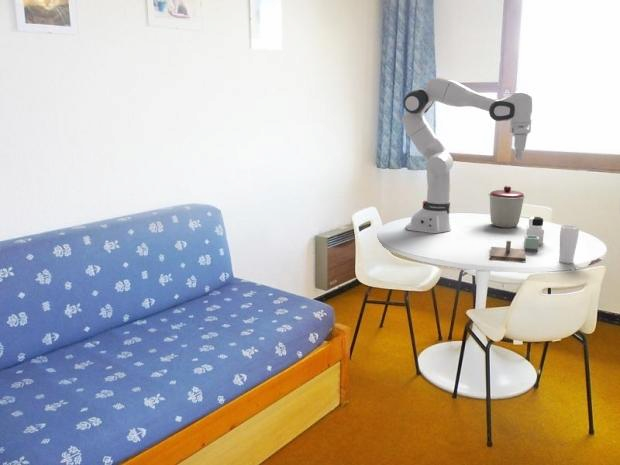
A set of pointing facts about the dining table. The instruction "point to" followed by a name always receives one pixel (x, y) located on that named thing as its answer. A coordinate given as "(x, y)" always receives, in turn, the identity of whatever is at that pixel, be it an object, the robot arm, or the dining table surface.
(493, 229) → the dining table surface
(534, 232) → the medicine bottle
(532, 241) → the sleeve
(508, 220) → the canister
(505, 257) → the pin board
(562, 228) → the drinking glass
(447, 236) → the dining table surface
